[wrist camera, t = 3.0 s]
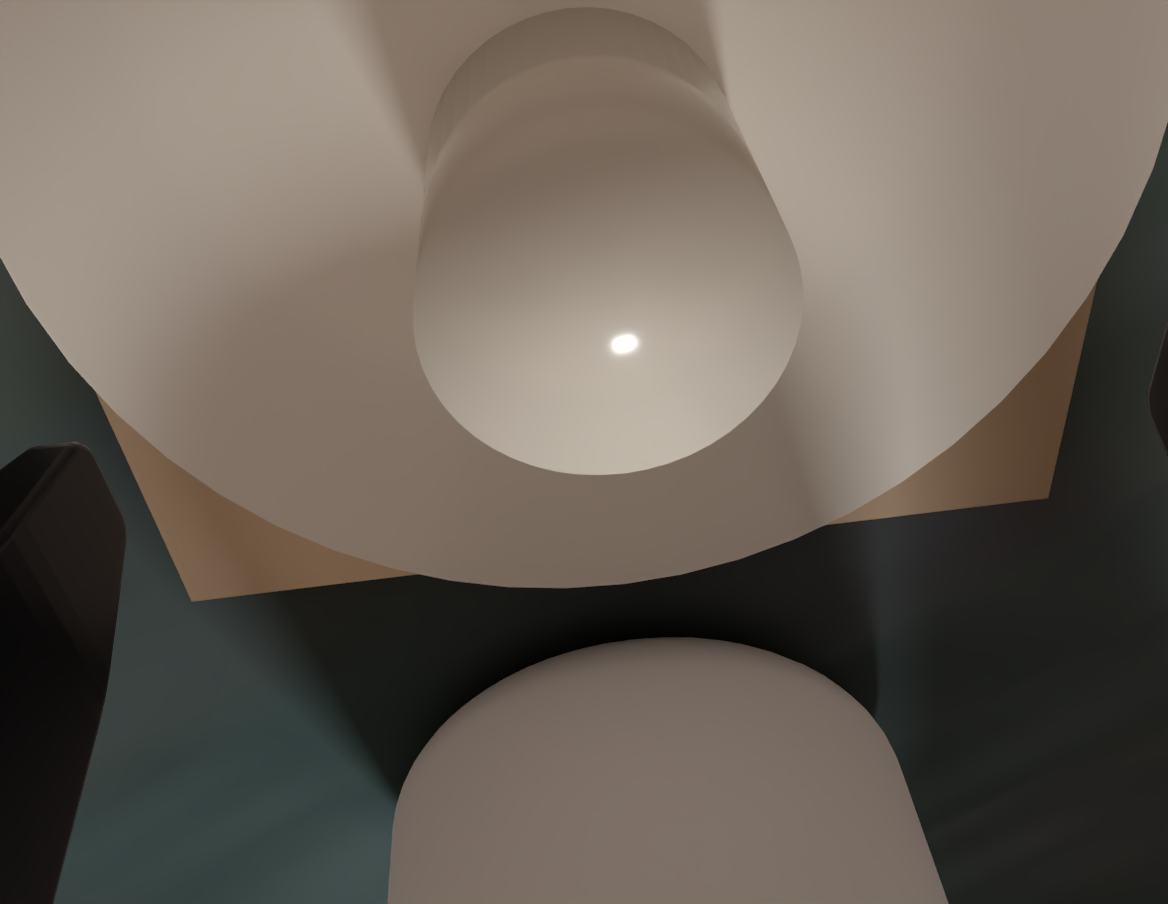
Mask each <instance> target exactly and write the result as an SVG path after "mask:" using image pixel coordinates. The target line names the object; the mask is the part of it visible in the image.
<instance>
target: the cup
mask: <svg viewBox="0 0 1168 904" xmlns="http://www.w3.org/2000/svg"><path fill="white" fill-rule="evenodd" d="M387 904H948V901H947V898H946V895H945V892H944V889H943V887H942V884H941V881H940V878H939V875H938V872H937V870H936V867H935V864H934V861H933V858H932V855H931V852H930V850H929V847H928V844H927V841H926V838H925V835H924V833H923V830H922V827H921V824H920V821H919V818H918V816H917V813H916V810H915V807H914V804H913V801H912V799H911V796H910V793H909V790H908V787H907V784H906V782H905V779H904V776H903V773H902V770H901V767H900V765H899V762H898V759H897V757H896V755H895V753H894V751H893V749H892V747H891V745H890V743H889V741H888V739H887V737H886V735H885V734H884V732H883V731H882V729H881V728H880V727H879V725H878V724H877V723H876V721H875V720H874V719H873V717H872V716H871V715H870V713H869V712H868V711H867V710H866V709H865V708H864V707H863V706H862V705H861V704H860V703H859V702H858V701H857V700H856V699H855V698H853V697H852V696H851V695H850V694H849V693H847V692H846V691H845V690H844V689H842V688H841V687H840V686H838V685H837V684H835V683H834V682H833V681H831V680H830V679H828V678H827V677H826V676H824V675H822V674H820V673H819V672H817V671H815V670H813V669H811V668H809V667H807V666H805V665H803V664H801V663H798V662H796V661H793V660H791V659H788V658H786V657H783V656H781V655H778V654H776V653H773V652H770V651H766V650H763V649H759V648H756V647H752V646H749V645H744V644H739V643H733V642H728V641H722V640H713V639H702V638H691V637H658V638H644V639H631V640H625V641H618V642H611V643H605V644H600V645H595V646H591V647H587V648H582V649H578V650H574V651H571V652H568V653H565V654H561V655H558V656H555V657H552V658H549V659H546V660H544V661H541V662H539V663H536V664H534V665H531V666H529V667H526V668H524V669H522V670H520V671H518V672H516V673H514V674H512V675H510V676H508V677H506V678H504V679H502V680H501V681H499V682H497V683H496V684H494V685H492V686H491V687H489V688H487V689H486V690H484V691H483V692H482V693H480V694H479V695H477V696H476V697H475V698H473V699H472V700H471V701H469V702H468V703H467V704H465V705H464V706H463V707H461V708H460V709H459V710H458V711H457V712H456V713H454V714H453V715H452V716H451V717H450V718H449V719H448V720H447V721H446V722H445V723H444V724H443V725H442V726H441V727H440V728H439V729H438V730H437V731H436V733H435V734H434V735H433V736H432V738H431V739H430V740H429V741H428V743H427V744H426V745H425V747H424V748H423V750H422V751H421V752H420V754H419V756H418V757H417V759H416V760H415V762H414V763H413V765H412V767H411V769H410V771H409V773H408V775H407V778H406V780H405V782H404V784H403V787H402V790H401V793H400V796H399V799H398V802H397V806H396V810H395V816H394V822H393V831H392V845H391V860H390V874H389V888H388V903H387Z"/></svg>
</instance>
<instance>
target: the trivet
mask: <svg viewBox="0 0 1168 904" xmlns="http://www.w3.org/2000/svg"><path fill="white" fill-rule="evenodd" d="M1096 285H1097V281H1096V283H1095V285H1094V286H1093V288H1092V290H1091V292H1090V293H1089V295H1088V297H1087V298H1086V299H1085V301H1084V302H1083V304H1082V305H1081V306H1080V308H1079V309H1078V310H1077V312H1076V313H1075V314H1074V316H1073V317H1072V318H1071V320H1070V321H1069V322H1068V324H1067V325H1066V326H1065V328H1064V329H1063V331H1062V332H1061V333H1060V335H1059V336H1058V337H1057V339H1056V340H1055V341H1054V343H1053V344H1052V345H1051V347H1050V348H1049V349H1048V351H1047V352H1046V353H1045V354H1044V356H1043V357H1042V358H1041V359H1040V360H1039V361H1038V362H1037V363H1036V364H1035V365H1034V366H1033V368H1032V369H1031V370H1030V371H1029V372H1028V373H1027V374H1026V375H1025V376H1024V377H1023V378H1022V380H1021V381H1020V382H1019V383H1018V384H1017V385H1016V386H1015V387H1014V388H1013V389H1012V390H1011V392H1010V393H1009V394H1008V395H1007V396H1006V397H1005V398H1004V399H1003V400H1002V401H1001V402H1000V403H999V404H998V405H997V406H996V407H995V408H994V409H993V410H991V411H990V412H989V413H988V414H987V415H986V416H985V417H984V418H982V419H981V420H980V421H979V422H978V423H977V424H976V425H975V426H973V427H972V428H971V429H970V430H969V431H968V432H967V433H966V434H965V435H963V436H962V437H961V438H960V439H959V440H958V441H957V442H956V443H954V444H953V445H952V446H951V447H949V448H948V449H947V450H945V451H944V452H942V453H941V454H940V455H938V456H937V457H936V458H934V459H933V460H932V461H930V462H929V463H927V464H926V465H925V466H923V467H922V468H921V469H919V470H918V471H917V472H915V473H914V474H912V475H911V476H910V477H908V478H907V479H906V480H904V481H903V482H901V483H900V484H898V485H896V486H895V487H893V488H891V489H890V490H888V491H886V492H884V493H883V494H881V495H879V496H878V497H876V498H874V499H873V500H871V501H869V502H868V503H866V504H864V505H863V506H861V507H859V508H858V509H856V510H854V511H852V512H851V513H849V514H847V515H845V516H843V517H841V518H838V519H836V520H834V521H832V522H830V523H828V524H826V525H830V524H838V523H847V522H855V521H863V520H871V519H880V518H888V517H896V516H905V515H913V514H921V513H929V512H938V511H946V510H954V509H962V508H971V507H979V506H987V505H996V504H1004V503H1012V502H1020V501H1029V500H1037V499H1045V498H1048V497H1049V492H1050V488H1051V483H1052V479H1053V475H1054V470H1055V466H1056V461H1057V457H1058V452H1059V448H1060V444H1061V439H1062V435H1063V430H1064V426H1065V422H1066V417H1067V413H1068V408H1069V404H1070V400H1071V395H1072V391H1073V386H1074V382H1075V377H1076V373H1077V369H1078V364H1079V360H1080V355H1081V351H1082V347H1083V342H1084V338H1085V333H1086V329H1087V325H1088V320H1089V316H1090V311H1091V307H1092V302H1093V298H1094V294H1095V289H1096ZM95 392H96V391H95ZM96 394H97V396H98V398H99V401H100V403H101V405H102V407H103V409H104V411H105V414H106V416H107V418H108V420H109V422H110V425H111V427H112V429H113V431H114V433H115V435H116V438H117V440H118V442H119V444H120V446H121V448H122V451H123V453H124V455H125V457H126V459H127V461H128V464H129V466H130V468H131V470H132V472H133V475H134V477H135V479H136V481H137V483H138V485H139V488H140V490H141V492H142V494H143V496H144V498H145V501H146V503H147V505H148V507H149V509H150V511H151V514H152V516H153V518H154V520H155V522H156V525H157V527H158V529H159V531H160V533H161V535H162V538H163V540H164V542H165V544H166V546H167V548H168V551H169V553H170V555H171V557H172V559H173V561H174V564H175V566H176V568H177V570H178V572H179V575H180V577H181V579H182V581H183V583H184V585H185V588H186V590H187V592H188V594H189V596H190V598H191V601H201V600H209V599H217V598H226V597H234V596H242V595H250V594H259V593H267V592H275V591H283V590H292V589H300V588H308V587H317V586H325V585H333V584H341V583H350V582H358V581H366V580H375V579H383V578H391V577H399V576H408V575H416V573H411V572H407V571H402V570H397V569H392V568H389V567H385V566H382V565H379V564H376V563H373V562H370V561H366V560H363V559H360V558H357V557H354V556H350V555H347V554H344V553H341V552H338V551H334V550H332V549H329V548H327V547H325V546H322V545H320V544H318V543H315V542H313V541H311V540H308V539H306V538H304V537H301V536H299V535H297V534H294V533H292V532H290V531H287V530H285V529H282V528H280V527H278V526H276V525H274V524H272V523H270V522H268V521H267V520H265V519H263V518H261V517H259V516H257V515H256V514H254V513H252V512H250V511H248V510H247V509H245V508H243V507H241V506H239V505H238V504H236V503H234V502H232V501H230V500H228V499H227V498H225V497H223V496H221V495H220V494H218V493H217V492H215V491H214V490H212V489H211V488H210V487H208V486H207V485H205V484H204V483H202V482H201V481H200V480H198V479H197V478H195V477H194V476H192V475H191V474H189V473H188V472H187V471H185V470H184V469H182V468H181V467H179V466H178V465H177V464H175V463H174V462H172V461H171V460H169V459H168V458H167V457H165V456H164V455H163V454H162V453H161V452H160V451H159V450H157V449H156V448H155V447H154V446H153V445H152V444H151V443H149V442H148V441H147V440H146V439H145V438H144V437H142V436H141V435H140V434H139V433H138V432H137V431H136V430H134V429H133V428H132V427H131V426H130V425H129V424H127V423H126V422H125V421H124V420H123V419H122V418H121V417H119V416H118V415H117V414H116V413H115V412H114V411H113V410H112V409H111V407H110V406H109V405H108V404H107V403H106V402H105V401H104V400H103V399H102V398H101V397H100V396H99V394H98V393H97V392H96Z"/></svg>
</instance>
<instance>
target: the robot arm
mask: <svg viewBox="0 0 1168 904" xmlns="http://www.w3.org/2000/svg"><path fill="white" fill-rule="evenodd" d="M1148 406H1149V412H1150V416H1151V419H1152V422H1153V424H1154V426H1155V429H1156V431H1157V433H1158V435H1159V438H1160V440H1161V442H1162V444H1163V447H1164V449H1165V451H1166V453H1167V455H1168V323H1167V326H1166V329H1165V332H1164V336H1163V340H1162V343H1161V347H1160V350H1159V354H1158V358H1157V361H1156V365H1155V369H1154V372H1153V376H1152V379H1151V383H1150V387H1149V392H1148ZM125 549H126V527H125V522H124V518H123V515H122V513H121V510H120V508H119V506H118V504H117V502H116V500H115V498H114V496H113V494H112V492H111V490H110V487H109V485H108V483H107V481H106V479H105V477H104V475H103V473H102V471H101V469H100V467H99V465H98V463H97V460H96V458H95V457H94V455H93V453H92V452H91V450H90V449H89V448H88V447H87V446H85V445H83V444H81V443H79V442H69V443H60V444H52V445H43V446H36V447H33V448H30V449H28V450H27V451H25V452H24V453H22V454H21V455H20V456H18V457H17V458H16V459H14V460H13V461H11V462H10V463H9V464H7V465H6V466H5V467H3V468H2V469H1V470H0V904H53V902H54V898H55V895H56V891H57V887H58V883H59V879H60V875H61V871H62V867H63V864H64V860H65V856H66V852H67V848H68V844H69V840H70V836H71V832H72V829H73V825H74V821H75V817H76V813H77V809H78V805H79V801H80V798H81V794H82V790H83V786H84V782H85V778H86V774H87V770H88V767H89V763H90V759H91V755H92V751H93V747H94V743H95V739H96V736H97V732H98V728H99V724H100V719H101V715H102V711H103V706H104V702H105V697H106V691H107V685H108V679H109V673H110V665H111V657H112V650H113V642H114V634H115V627H116V619H117V611H118V603H119V596H120V588H121V580H122V573H123V565H124V557H125Z"/></svg>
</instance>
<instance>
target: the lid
mask: <svg viewBox="0 0 1168 904" xmlns="http://www.w3.org/2000/svg"><path fill="white" fill-rule="evenodd" d="M1167 123H1168V0H0V258H1V259H2V261H3V263H4V265H5V267H6V268H7V270H8V272H9V274H10V276H11V277H12V279H13V281H14V283H15V285H16V286H17V288H18V290H19V292H20V293H21V295H22V297H23V299H24V301H25V302H26V304H27V305H28V307H29V308H30V310H31V311H32V312H33V314H34V315H35V316H36V318H37V319H38V321H39V322H40V323H41V325H42V326H43V327H44V329H45V330H46V332H47V333H48V334H49V336H50V337H51V338H52V340H53V341H54V343H55V344H56V345H57V347H58V348H59V349H60V351H61V352H62V354H63V355H64V356H65V358H66V359H67V360H68V362H69V363H70V364H71V365H72V366H73V367H74V368H75V369H76V371H77V372H78V373H79V374H80V375H81V376H82V377H83V378H84V379H85V380H86V381H87V383H88V384H89V385H90V386H91V387H92V388H93V389H94V390H95V391H96V392H97V393H98V394H99V396H100V397H101V398H102V399H103V400H104V401H105V402H106V403H107V404H108V405H109V406H110V407H111V409H112V410H113V411H114V412H115V413H116V414H117V415H118V416H119V417H121V418H122V419H123V420H124V421H125V422H126V423H127V424H129V425H130V426H131V427H132V428H133V429H134V430H136V431H137V432H138V433H139V434H140V435H141V436H142V437H144V438H145V439H146V440H147V441H148V442H149V443H151V444H152V445H153V446H154V447H155V448H156V449H157V450H159V451H160V452H161V453H162V454H163V455H164V456H165V457H167V458H168V459H169V460H171V461H172V462H174V463H175V464H177V465H178V466H179V467H181V468H182V469H184V470H185V471H187V472H188V473H189V474H191V475H192V476H194V477H195V478H197V479H198V480H200V481H201V482H202V483H204V484H205V485H207V486H208V487H210V488H211V489H212V490H214V491H215V492H217V493H218V494H220V495H221V496H223V497H225V498H227V499H228V500H230V501H232V502H234V503H236V504H238V505H239V506H241V507H243V508H245V509H247V510H248V511H250V512H252V513H254V514H256V515H257V516H259V517H261V518H263V519H265V520H267V521H268V522H270V523H272V524H274V525H276V526H278V527H280V528H282V529H285V530H287V531H290V532H292V533H294V534H297V535H299V536H301V537H304V538H306V539H308V540H311V541H313V542H315V543H318V544H320V545H322V546H325V547H327V548H329V549H332V550H334V551H338V552H341V553H344V554H347V555H350V556H354V557H357V558H360V559H363V560H366V561H370V562H373V563H376V564H379V565H382V566H385V567H389V568H392V569H397V570H402V571H407V572H411V573H416V574H421V575H426V576H430V577H435V578H440V579H445V580H449V581H458V582H467V583H476V584H485V585H493V586H502V587H527V588H577V587H590V586H604V585H618V584H627V583H633V582H640V581H646V580H652V579H658V578H664V577H670V576H676V575H682V574H686V573H689V572H693V571H697V570H701V569H705V568H708V567H712V566H716V565H720V564H724V563H727V562H731V561H735V560H739V559H742V558H744V557H747V556H750V555H753V554H755V553H758V552H761V551H764V550H766V549H769V548H772V547H775V546H777V545H780V544H783V543H786V542H788V541H791V540H794V539H796V538H798V537H800V536H803V535H805V534H807V533H809V532H811V531H813V530H815V529H817V528H819V527H822V526H824V525H826V524H828V523H830V522H832V521H834V520H836V519H838V518H841V517H843V516H845V515H847V514H849V513H851V512H852V511H854V510H856V509H858V508H859V507H861V506H863V505H864V504H866V503H868V502H869V501H871V500H873V499H874V498H876V497H878V496H879V495H881V494H883V493H884V492H886V491H888V490H890V489H891V488H893V487H895V486H896V485H898V484H900V483H901V482H903V481H904V480H906V479H907V478H908V477H910V476H911V475H912V474H914V473H915V472H917V471H918V470H919V469H921V468H922V467H923V466H925V465H926V464H927V463H929V462H930V461H932V460H933V459H934V458H936V457H937V456H938V455H940V454H941V453H942V452H944V451H945V450H947V449H948V448H949V447H951V446H952V445H953V444H954V443H956V442H957V441H958V440H959V439H960V438H961V437H962V436H963V435H965V434H966V433H967V432H968V431H969V430H970V429H971V428H972V427H973V426H975V425H976V424H977V423H978V422H979V421H980V420H981V419H982V418H984V417H985V416H986V415H987V414H988V413H989V412H990V411H991V410H993V409H994V408H995V407H996V406H997V405H998V404H999V403H1000V402H1001V401H1002V400H1003V399H1004V398H1005V397H1006V396H1007V395H1008V394H1009V393H1010V392H1011V390H1012V389H1013V388H1014V387H1015V386H1016V385H1017V384H1018V383H1019V382H1020V381H1021V380H1022V378H1023V377H1024V376H1025V375H1026V374H1027V373H1028V372H1029V371H1030V370H1031V369H1032V368H1033V366H1034V365H1035V364H1036V363H1037V362H1038V361H1039V360H1040V359H1041V358H1042V357H1043V356H1044V354H1045V353H1046V352H1047V351H1048V349H1049V348H1050V347H1051V345H1052V344H1053V343H1054V341H1055V340H1056V339H1057V337H1058V336H1059V335H1060V333H1061V332H1062V331H1063V329H1064V328H1065V326H1066V325H1067V324H1068V322H1069V321H1070V320H1071V318H1072V317H1073V316H1074V314H1075V313H1076V312H1077V310H1078V309H1079V308H1080V306H1081V305H1082V304H1083V302H1084V301H1085V299H1086V298H1087V297H1088V295H1089V293H1090V292H1091V290H1092V288H1093V286H1094V285H1095V283H1096V281H1097V280H1098V278H1099V276H1100V274H1101V273H1102V271H1103V269H1104V268H1105V266H1106V264H1107V263H1108V261H1109V259H1110V257H1111V256H1112V254H1113V252H1114V251H1115V249H1116V247H1117V245H1118V244H1119V242H1120V240H1121V239H1122V237H1123V235H1124V233H1125V231H1126V228H1127V226H1128V224H1129V222H1130V219H1131V217H1132V215H1133V213H1134V210H1135V208H1136V206H1137V204H1138V201H1139V199H1140V197H1141V195H1142V192H1143V190H1144V188H1145V186H1146V183H1147V181H1148V179H1149V177H1150V174H1151V172H1152V170H1153V167H1154V164H1155V161H1156V158H1157V155H1158V151H1159V148H1160V145H1161V142H1162V139H1163V135H1164V132H1165V129H1166V126H1167Z"/></svg>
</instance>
